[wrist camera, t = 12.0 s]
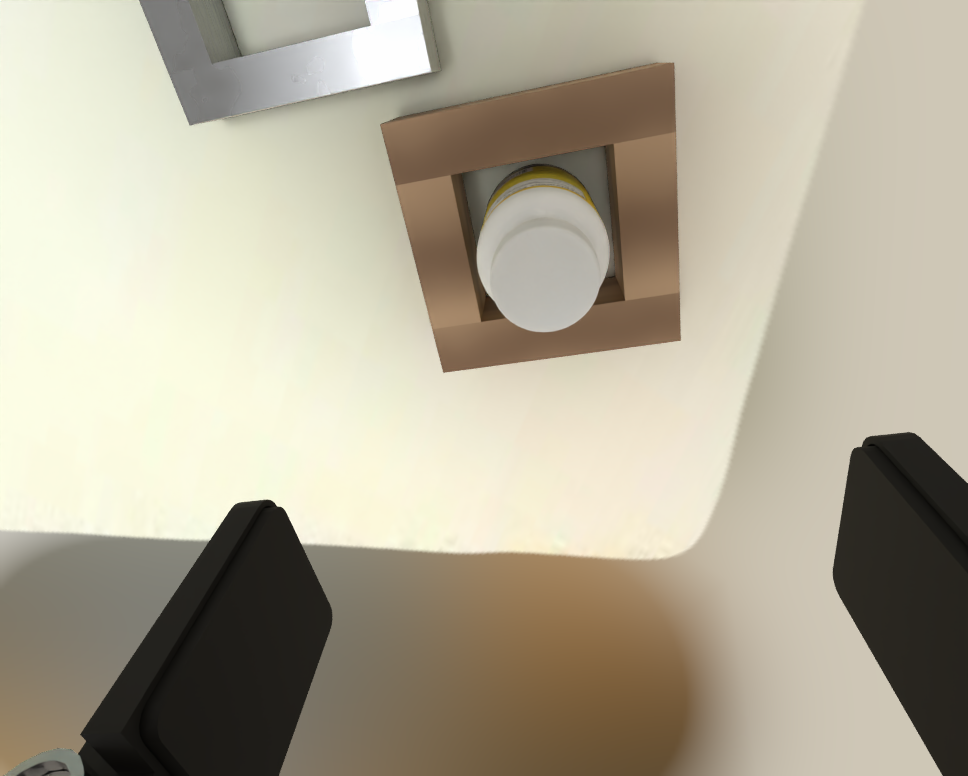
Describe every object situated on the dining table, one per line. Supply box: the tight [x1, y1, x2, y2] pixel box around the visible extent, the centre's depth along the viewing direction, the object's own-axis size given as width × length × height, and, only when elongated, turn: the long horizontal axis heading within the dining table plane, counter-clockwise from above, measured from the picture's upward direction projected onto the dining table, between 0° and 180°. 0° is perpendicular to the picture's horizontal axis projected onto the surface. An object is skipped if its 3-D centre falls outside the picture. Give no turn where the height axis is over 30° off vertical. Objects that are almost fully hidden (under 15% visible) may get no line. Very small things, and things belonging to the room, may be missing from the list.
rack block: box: [380, 63, 681, 373], centre depth 27 cm, size 12×12×4 cm
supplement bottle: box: [477, 164, 610, 332], centre depth 24 cm, size 5×5×10 cm
